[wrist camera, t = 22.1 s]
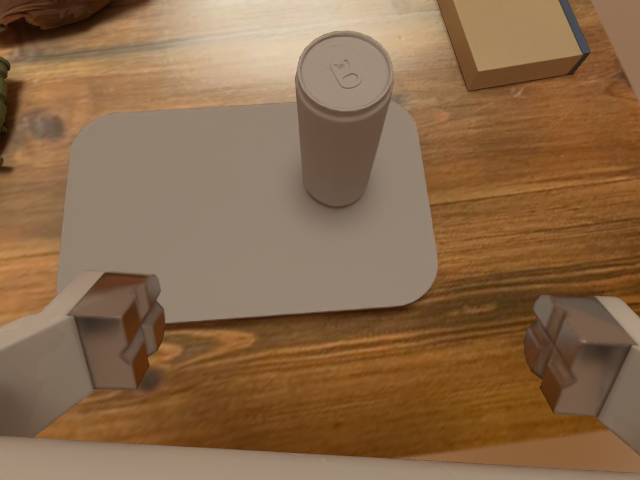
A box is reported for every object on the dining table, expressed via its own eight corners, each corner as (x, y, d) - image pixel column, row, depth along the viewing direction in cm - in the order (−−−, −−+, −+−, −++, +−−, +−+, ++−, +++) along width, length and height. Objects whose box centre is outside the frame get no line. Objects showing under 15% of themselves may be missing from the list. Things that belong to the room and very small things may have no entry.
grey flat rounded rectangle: (88, 131, 36) (74, 115, 34) (406, 111, 37) (411, 94, 34) (70, 334, 31) (51, 331, 29) (436, 307, 32) (444, 302, 30)
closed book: (573, 73, 38) (591, 52, 35) (468, 91, 37) (478, 70, 35) (524, -42, 42) (537, -68, 39) (427, -27, 41) (434, -53, 39)
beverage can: (349, 139, 33) (366, 14, 22) (380, 192, 32) (415, 88, 21) (291, 165, 33) (277, 50, 21) (320, 220, 31) (322, 130, 20)
